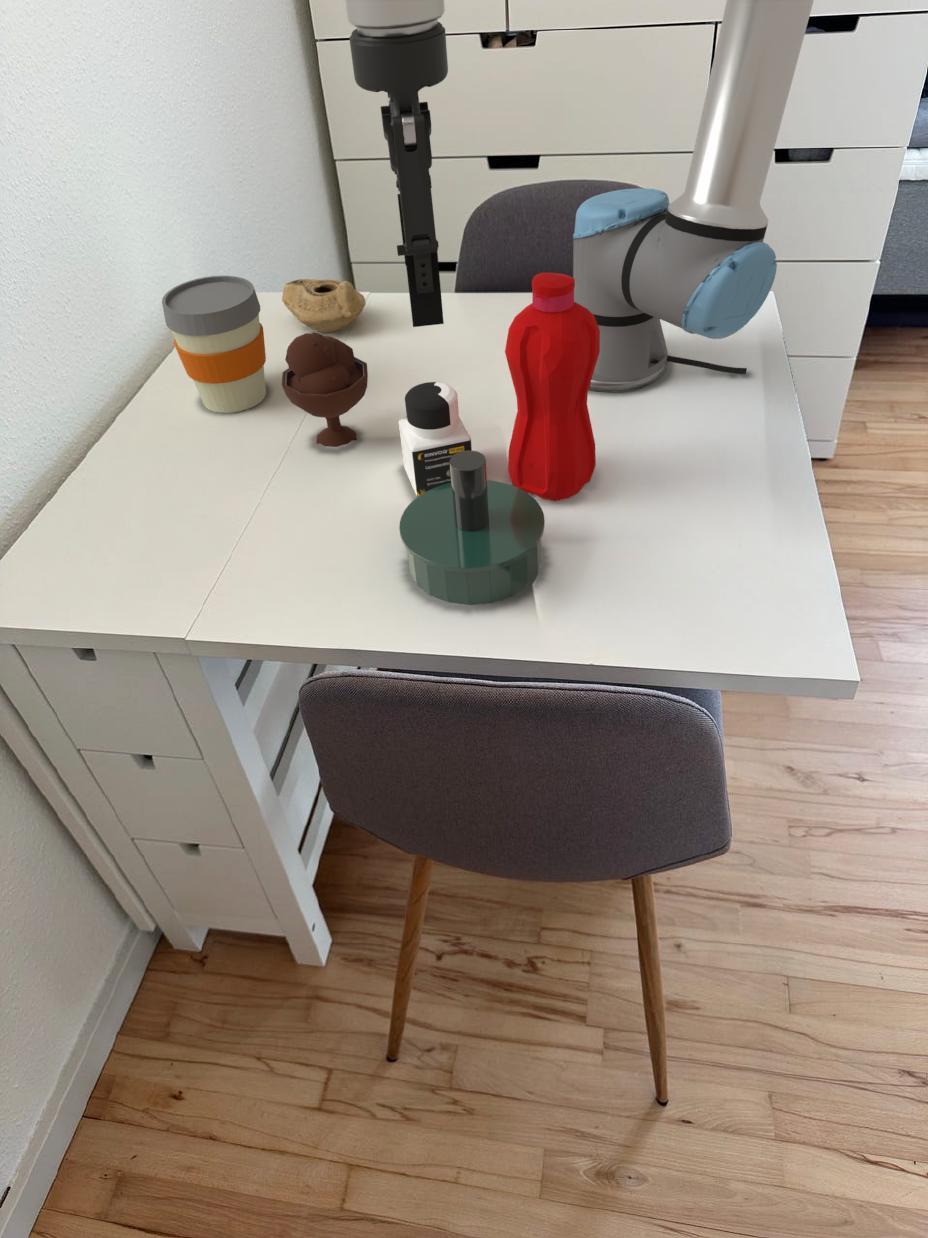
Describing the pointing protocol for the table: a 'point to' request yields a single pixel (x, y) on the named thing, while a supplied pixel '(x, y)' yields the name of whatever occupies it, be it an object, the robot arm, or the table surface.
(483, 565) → the pot lid
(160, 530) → the table surface
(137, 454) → the table surface
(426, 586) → the pot
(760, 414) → the table surface
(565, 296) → the water bottle
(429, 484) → the medicine bottle
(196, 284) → the reusable coffee cup
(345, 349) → the ice cream bowl
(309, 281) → the oil lamp
